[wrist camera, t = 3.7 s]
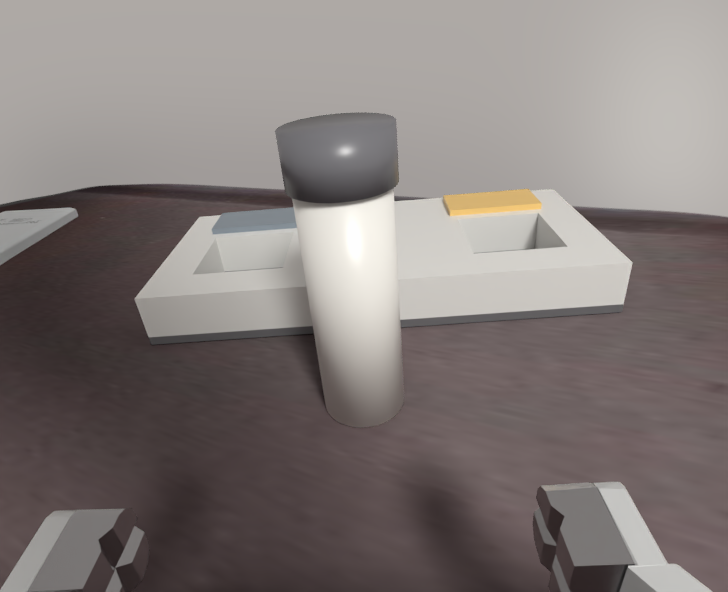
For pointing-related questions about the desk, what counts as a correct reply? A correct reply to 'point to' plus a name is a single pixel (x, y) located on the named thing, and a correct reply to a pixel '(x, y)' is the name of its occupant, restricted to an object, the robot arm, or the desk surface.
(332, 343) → the grey capped white cylinder
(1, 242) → the external hard drive
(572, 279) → the socket board
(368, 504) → the desk surface
